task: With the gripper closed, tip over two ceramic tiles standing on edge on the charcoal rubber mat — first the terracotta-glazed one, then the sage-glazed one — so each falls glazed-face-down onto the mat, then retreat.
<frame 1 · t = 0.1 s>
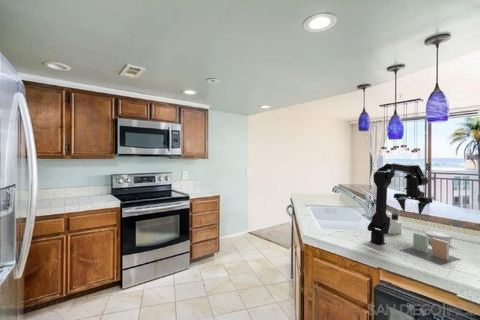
hand: (411, 212, 141), 15 cm above the counter, fingers open, 9 cm apart
ramekin: (438, 243, 131), on the counter
slate mat: (428, 255, 115), on the counter
terracotta tile: (440, 257, 112), point 1 cm above the counter, touching slate mat
sage tile: (420, 250, 119), point 1 cm above the counter, touching slate mat
medicine bottle: (392, 232, 150), on the counter
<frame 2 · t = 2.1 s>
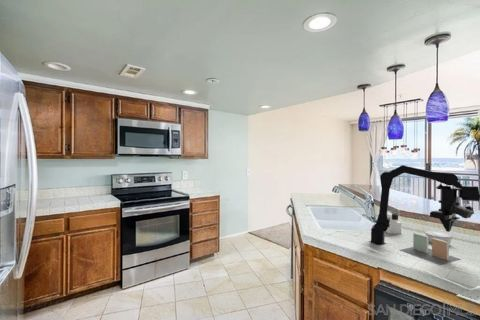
hand: (448, 231, 114), 12 cm above the counter, fingers closed
nothing on the counter moved.
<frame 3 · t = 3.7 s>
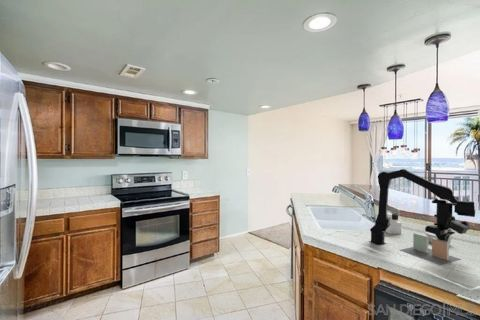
hand: (443, 246, 113), 5 cm above the counter, fingers closed
terracotta tile: (440, 257, 112), point 1 cm above the counter, touching gripper, slate mat
everything else where it was.
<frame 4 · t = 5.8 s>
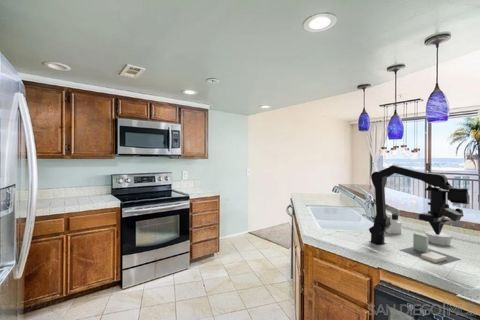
hand: (437, 234, 110), 12 cm above the counter, fingers closed
terracotta tile: (439, 255, 111), point 1 cm above the counter, tilted 90°, touching slate mat
everything else where it was.
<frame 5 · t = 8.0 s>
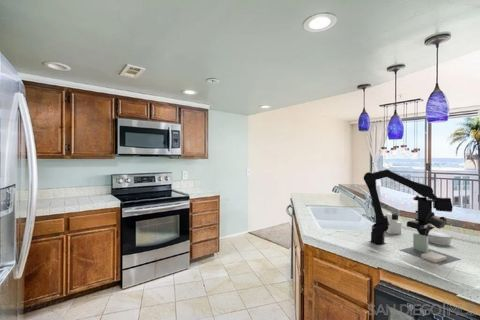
hand: (423, 240, 120), 5 cm above the counter, fingers closed
sage tile: (420, 250, 119), point 1 cm above the counter, touching gripper, slate mat
everything else where it was.
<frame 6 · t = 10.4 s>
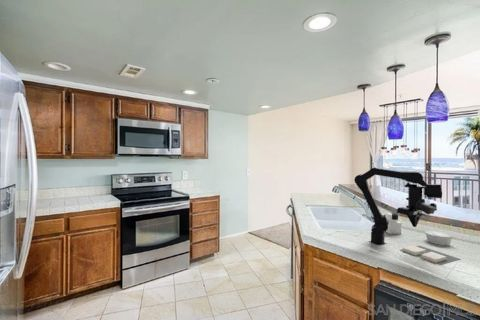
hand: (414, 226, 122), 12 cm above the counter, fingers closed
sage tile: (419, 249, 119), point 1 cm above the counter, tilted 90°, touching slate mat
everything else where it was.
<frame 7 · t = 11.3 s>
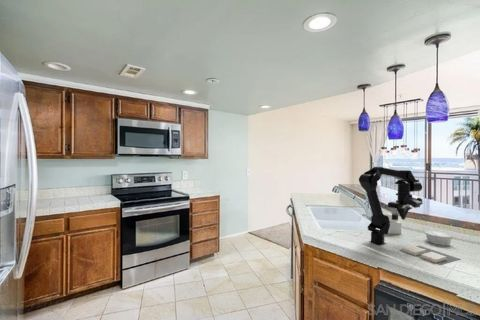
hand: (403, 219, 135), 12 cm above the counter, fingers closed
nothing on the counter moved.
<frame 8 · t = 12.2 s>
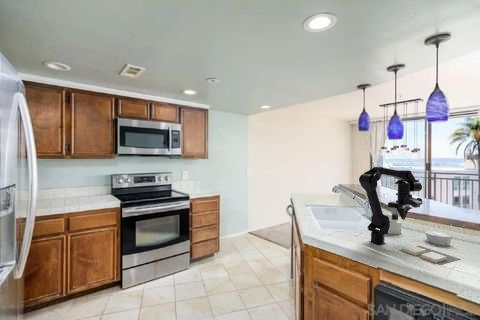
hand: (403, 219, 135), 12 cm above the counter, fingers closed
nothing on the counter moved.
at the end: terracotta tile tilted 90°; sage tile tilted 90°; terracotta tile inside the target area (4.0 cm from its centre), point 1.4 cm above the counter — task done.
